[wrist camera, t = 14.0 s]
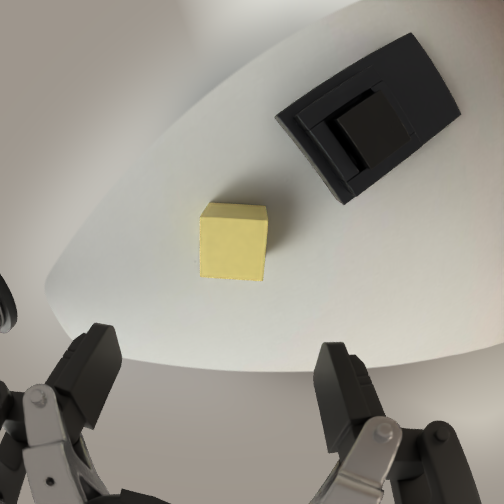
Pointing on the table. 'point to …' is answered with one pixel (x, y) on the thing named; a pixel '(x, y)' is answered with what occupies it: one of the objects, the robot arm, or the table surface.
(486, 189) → the table surface
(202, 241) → the note cube
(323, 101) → the black hollow base
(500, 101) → the table surface
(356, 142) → the black square block
